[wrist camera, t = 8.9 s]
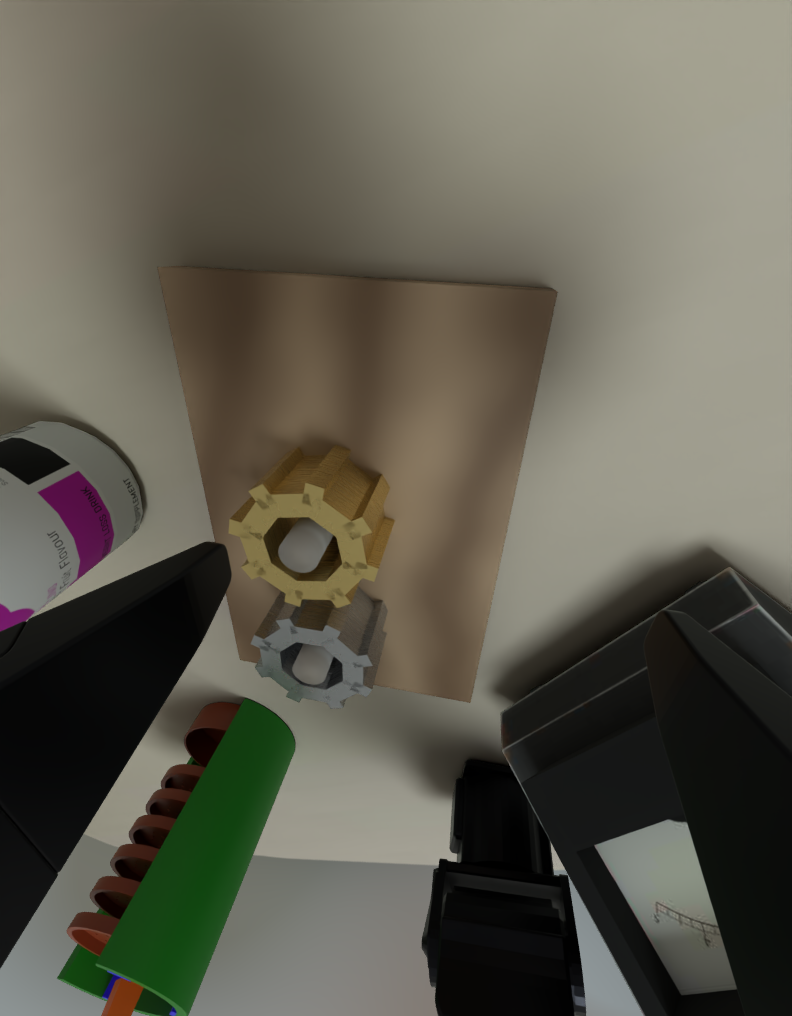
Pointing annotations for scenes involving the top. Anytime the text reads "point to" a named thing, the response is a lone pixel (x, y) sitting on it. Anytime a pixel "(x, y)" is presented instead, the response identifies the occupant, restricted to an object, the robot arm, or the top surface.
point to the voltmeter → (639, 799)
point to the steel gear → (323, 645)
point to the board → (368, 437)
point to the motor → (181, 866)
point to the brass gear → (329, 502)
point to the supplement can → (58, 512)
